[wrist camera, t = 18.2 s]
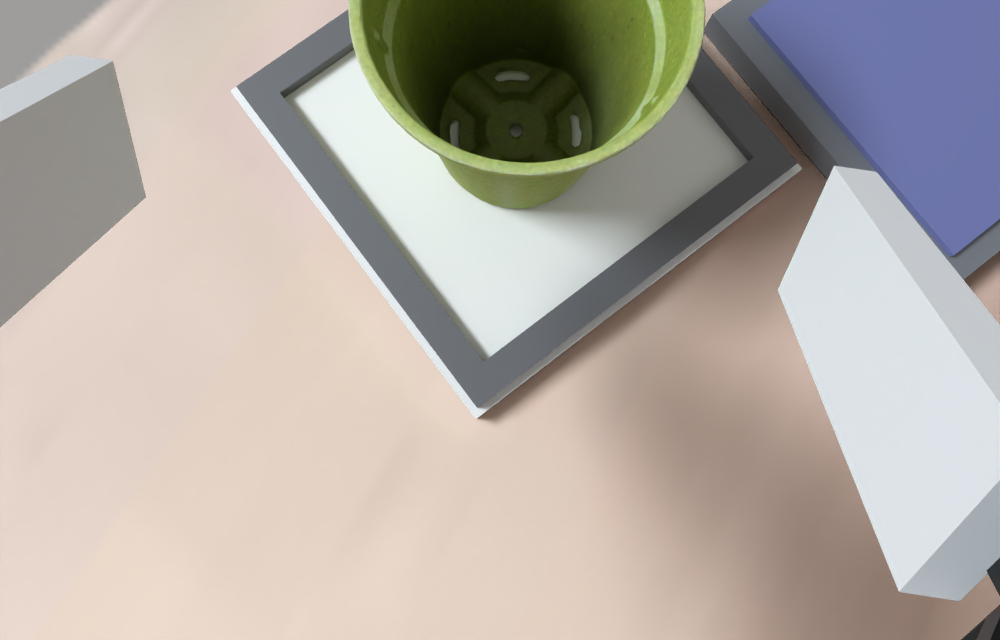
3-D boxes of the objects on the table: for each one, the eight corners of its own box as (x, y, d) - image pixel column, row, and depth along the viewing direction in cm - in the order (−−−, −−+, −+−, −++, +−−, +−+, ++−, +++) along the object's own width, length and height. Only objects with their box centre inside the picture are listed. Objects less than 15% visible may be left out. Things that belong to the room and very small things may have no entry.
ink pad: (953, -152, 29) (978, -183, 27) (1178, 95, 28) (1217, 78, 26) (702, 31, 28) (714, 10, 26) (926, 297, 26) (952, 291, 25)
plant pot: (387, 29, 27) (337, -149, 18) (621, 12, 27) (684, -172, 18) (403, 259, 25) (359, 188, 17) (648, 239, 26) (727, 159, 17)
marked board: (550, -116, 28) (553, -141, 27) (793, 175, 27) (808, 164, 26) (237, 100, 27) (225, 85, 26) (476, 418, 26) (475, 419, 24)
